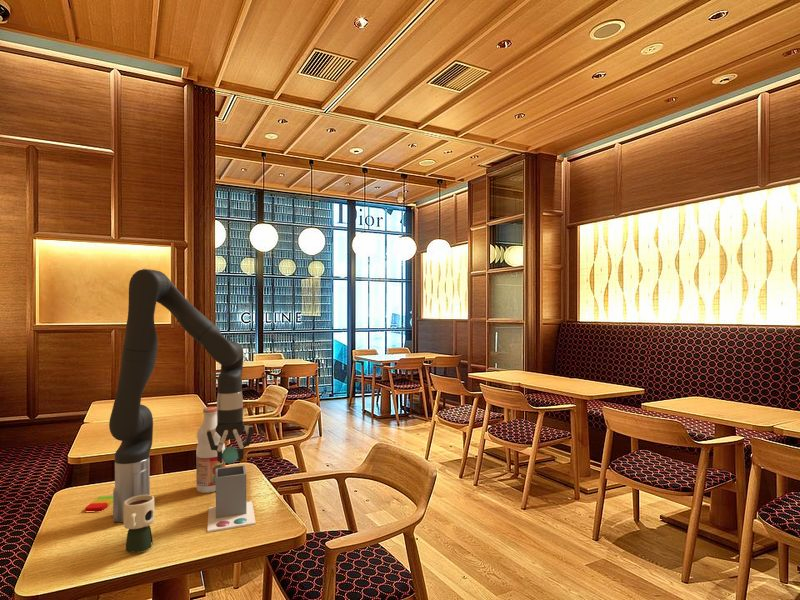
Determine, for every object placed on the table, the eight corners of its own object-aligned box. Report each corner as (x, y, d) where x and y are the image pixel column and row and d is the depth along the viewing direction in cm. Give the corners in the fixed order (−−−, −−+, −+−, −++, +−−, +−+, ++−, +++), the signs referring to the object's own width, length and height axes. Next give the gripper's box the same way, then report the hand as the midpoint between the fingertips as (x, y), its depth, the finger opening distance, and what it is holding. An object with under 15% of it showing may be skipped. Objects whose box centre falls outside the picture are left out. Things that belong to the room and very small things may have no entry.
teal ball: (222, 466, 142) (221, 450, 142) (221, 461, 147) (221, 445, 147) (239, 464, 144) (239, 448, 144) (238, 459, 148) (238, 443, 148)
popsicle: (83, 514, 145) (83, 508, 145) (107, 494, 160) (107, 489, 160) (102, 513, 146) (102, 507, 146) (124, 494, 161) (124, 488, 161)
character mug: (147, 558, 119) (147, 507, 119) (116, 562, 117) (116, 510, 117) (160, 537, 129) (160, 490, 130) (131, 540, 128) (131, 492, 128)
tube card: (207, 532, 132) (207, 488, 132) (208, 509, 147) (208, 469, 147) (255, 524, 137) (255, 481, 137) (251, 502, 152) (251, 463, 152)
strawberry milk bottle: (201, 483, 168) (200, 405, 168) (228, 482, 169) (228, 404, 169) (192, 494, 159) (192, 411, 159) (221, 492, 160) (220, 410, 160)
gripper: (204, 411, 139) (205, 468, 139) (255, 406, 144) (255, 462, 144) (205, 406, 146) (205, 460, 146) (253, 402, 151) (254, 454, 151)
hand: (230, 461), depth 145 cm, fingers closed on teal ball, 5 cm apart
